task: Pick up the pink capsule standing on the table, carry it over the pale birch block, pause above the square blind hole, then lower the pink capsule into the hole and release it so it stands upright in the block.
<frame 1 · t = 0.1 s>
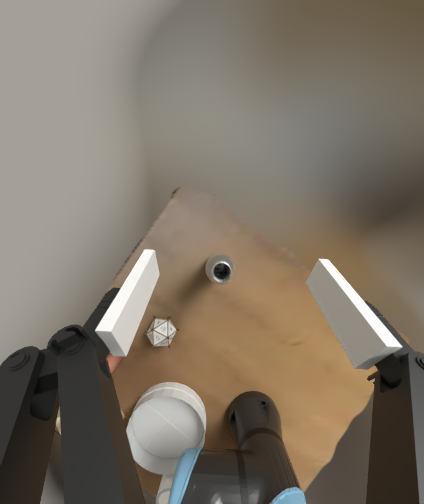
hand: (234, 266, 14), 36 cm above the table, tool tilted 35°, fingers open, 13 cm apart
dish: (170, 416, 51), on the table
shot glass: (174, 465, 50), on the table
game die: (166, 324, 50), on the table
plastic bottle: (217, 263, 50), on the table
pink capsule: (117, 355, 50), on the table
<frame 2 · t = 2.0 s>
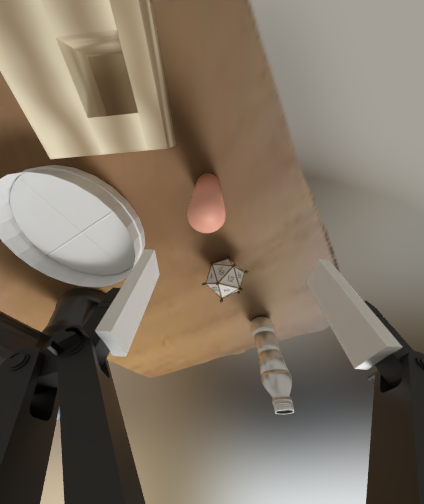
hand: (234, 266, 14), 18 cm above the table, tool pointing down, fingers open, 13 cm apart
dish: (87, 228, 32), on the table
game die: (223, 264, 37), on the table
birch block: (111, 93, 21), on the table
plastic bottle: (260, 319, 49), on the table
pink capsule: (208, 186, 27), on the table
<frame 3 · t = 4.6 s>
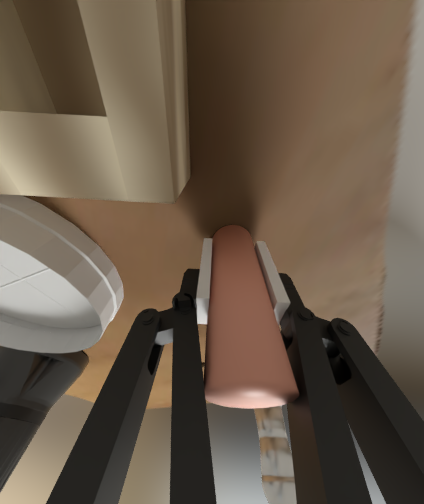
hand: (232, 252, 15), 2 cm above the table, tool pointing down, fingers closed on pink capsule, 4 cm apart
dish: (34, 269, 21), on the table
birch block: (66, 58, 10), on the table
plastic bottle: (262, 379, 40), on the table
pink capsule: (231, 242, 17), on the table, touching gripper
when the fingers open (7 cm above the table, at t = 8.5 s): pink capsule drops 1 cm, resting on birch block.
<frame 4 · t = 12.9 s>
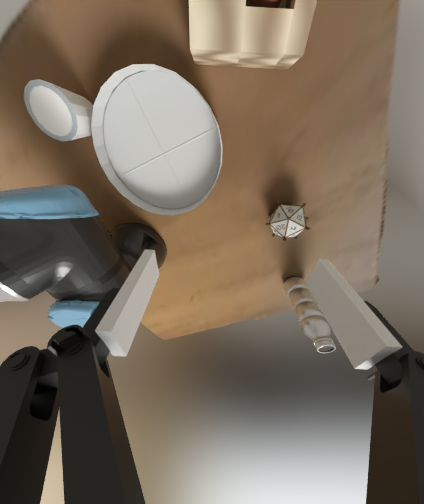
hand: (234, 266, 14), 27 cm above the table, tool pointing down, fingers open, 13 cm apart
dish: (166, 153, 33), on the table
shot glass: (83, 116, 29), on the table
game die: (281, 213, 39), on the table
plastic bottle: (292, 280, 52), on the table
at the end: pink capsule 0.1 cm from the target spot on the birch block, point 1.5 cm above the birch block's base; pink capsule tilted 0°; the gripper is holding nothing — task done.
